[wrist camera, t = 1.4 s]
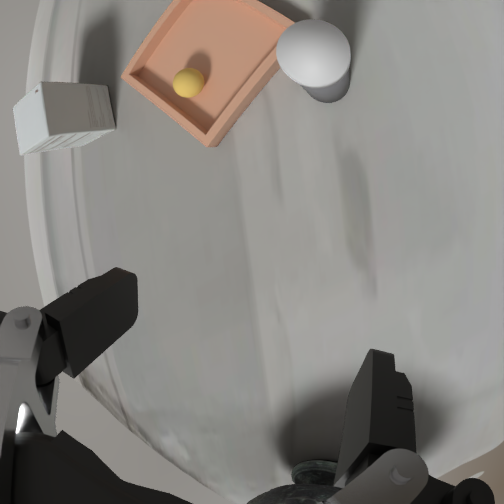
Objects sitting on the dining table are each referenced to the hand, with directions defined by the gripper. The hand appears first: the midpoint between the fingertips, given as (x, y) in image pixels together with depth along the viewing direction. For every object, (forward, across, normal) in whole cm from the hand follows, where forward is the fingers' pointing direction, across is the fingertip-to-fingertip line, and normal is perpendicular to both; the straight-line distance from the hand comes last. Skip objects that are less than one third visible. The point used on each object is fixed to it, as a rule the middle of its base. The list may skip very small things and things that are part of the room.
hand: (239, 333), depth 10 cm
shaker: (+28, +2, -12) cm, 31 cm away
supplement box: (+28, +34, -5) cm, 44 cm away
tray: (+28, +16, -14) cm, 35 cm away
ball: (+27, +17, -10) cm, 33 cm away
